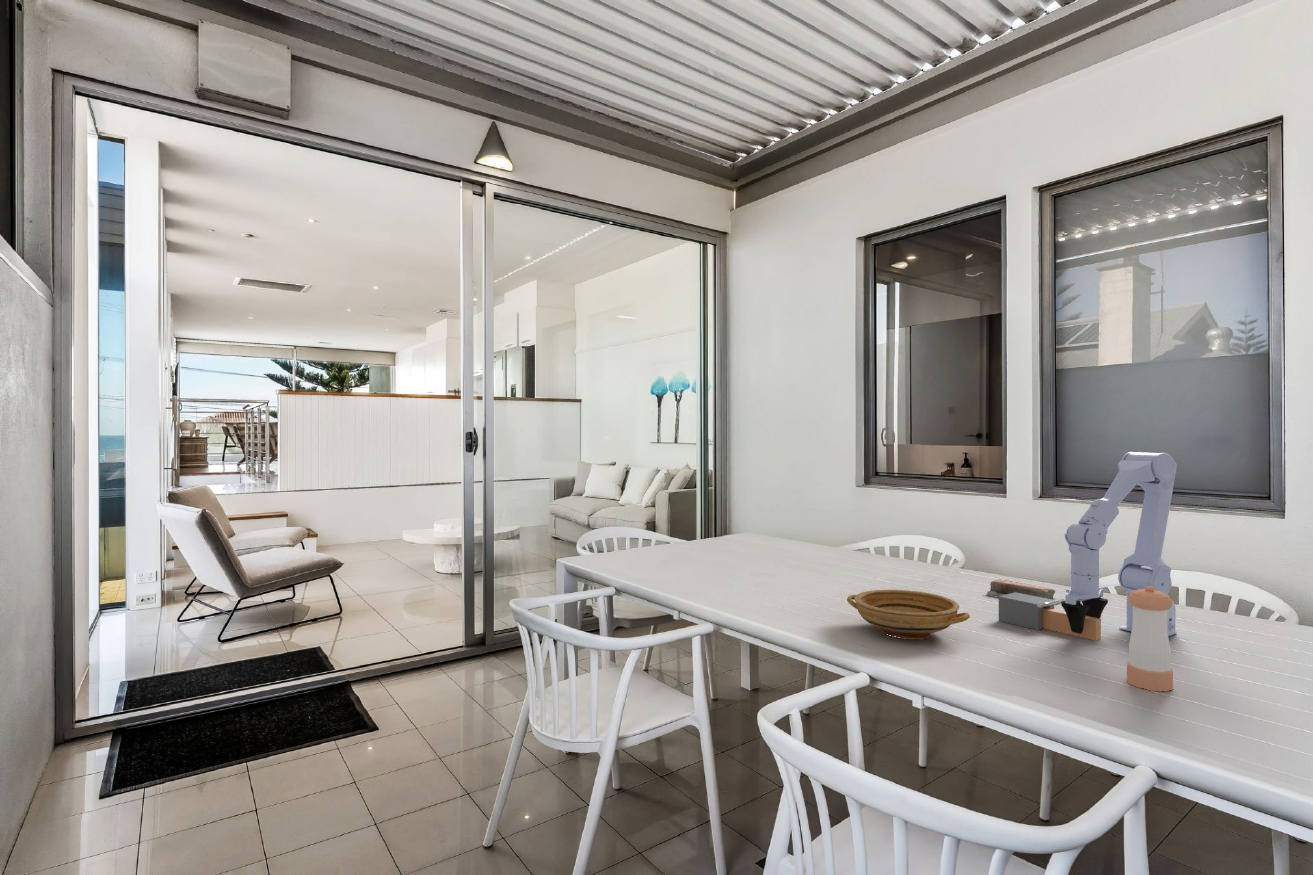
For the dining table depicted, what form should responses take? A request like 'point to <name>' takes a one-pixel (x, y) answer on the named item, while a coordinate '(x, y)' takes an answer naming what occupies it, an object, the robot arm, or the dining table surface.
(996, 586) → the packaged product
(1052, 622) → the orange rectangular bar
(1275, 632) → the dining table surface
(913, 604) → the ceramic bowl
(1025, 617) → the grey plain boxy block
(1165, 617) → the salt shaker
